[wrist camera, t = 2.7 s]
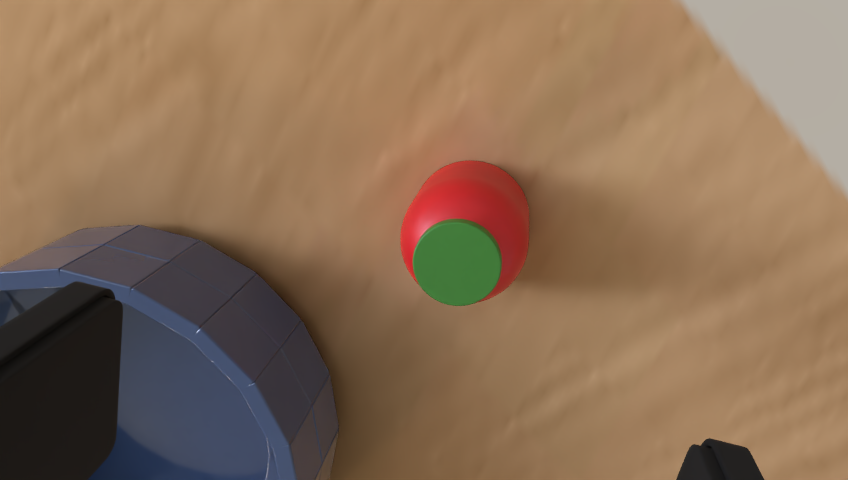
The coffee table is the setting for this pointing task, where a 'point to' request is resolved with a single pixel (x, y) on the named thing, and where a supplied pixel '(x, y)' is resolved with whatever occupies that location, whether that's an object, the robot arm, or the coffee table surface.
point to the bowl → (194, 358)
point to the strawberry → (466, 233)
